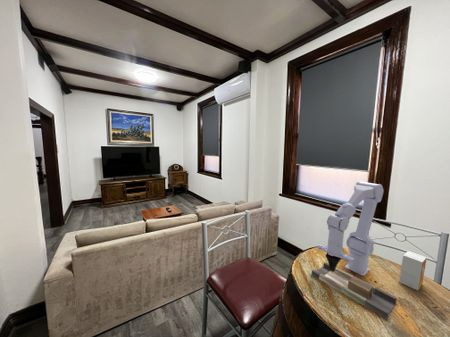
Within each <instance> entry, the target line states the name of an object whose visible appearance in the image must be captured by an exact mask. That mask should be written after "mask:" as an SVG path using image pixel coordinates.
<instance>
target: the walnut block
mask: <svg viewBox="0 0 450 337" xmlns="http://www.w3.org/2000/svg"><path fill="white" fill-rule="evenodd" d="M355 277H356V276H355ZM355 277H352V278H351V279H350V280H349V281H348V289H350V290H351V291H353V292H355V293H357V294H359V295H360V296H362V297H364V298H366V299H368V300H369V299H370V297H371V296H372V292H373V286H374V285H373V286H372V284H371V285H370V283H369V284H368V282H367V283H365V282H366V281H365V282H363V281H364V280H363V281H361V280H362V279H361V280H359V279H360V278H359V279H357V278H358V277H357V278H355Z"/></svg>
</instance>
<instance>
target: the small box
mask: <svg viewBox="0 0 450 337" xmlns="http://www.w3.org/2000/svg"><path fill="white" fill-rule="evenodd" d="M401 261H402V262H401V268H400V274H399V280H398V282H399V283H401V284H402V285H405V286H407V287H409V288H412V289H413V290H416V291H419V290H420V288H422V285H423V281H424V276H425V270H426V265H427V264H426V263H427V257H426V256H423V255H420V254H417V253H415V252H412V251H410V250H408V251H407V252H405V253H404V254H403V256H402V260H401Z"/></svg>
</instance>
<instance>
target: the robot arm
mask: <svg viewBox="0 0 450 337" xmlns="http://www.w3.org/2000/svg"><path fill="white" fill-rule="evenodd" d="M353 191H354V192H353V193H352V195H351V197H350V198H349V199H348V201H347V203H342V205H341V206H339V208H338V209H337V210H336V212H334V214H331V215H329V216H328V218H327V220H326V225H327V230H328V236H327V237H328V239H327V245H325V244H321V243H319V244H317V246H316V249H317V250H321V251H323V252H325V253H326V254H325V258H326V259H327V263H328V264H329V267H330V271H332V272H334V271H335V268H337V266H338V264H339V262H340V261H341V260H344V261H345V262H348V264H346V265H345V266H344V268H345V269H348V270H350V271H353V272H354V273H356V274H358V275H360V276H365V275H366V274H367V273H369V271H370V270H371V269H370V268H368V266H369V265H368V264H369V258H370V257H371V255H372V254H373V253H374V246H375V244H374V242H375V241H374V240H373V239H372V238H371V237H370V230H371V227H372V222H373V220H374V216H375V212H376V208H377V205H378V203H381V201H382V200H383V196H384V191H385V190H384V187H383V185H382V184H381V183H378V184H377V183H372V182H366V181H361V180H359V181H357V182H356V183H355V185H354V186H353ZM362 201H363V204H362V207H361V211H360V215H359V218H358V223H357V225H356V226H357V227H356V230H355V231H352V232H350V233H349V235H348V237H347V239H346V247H347V248H348V250H349V255H348V254H346V253H344V252H343V247H344V246H343V245H344V238H345V231H346V230H347V229H348V227H349V224H350V221H351V218H352V217H353V216H354V215H355V213H356V208H357V206H358V205H360V204H361V203H362ZM369 256H370V257H369Z"/></svg>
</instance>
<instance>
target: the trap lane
mask: <svg viewBox="0 0 450 337" xmlns="http://www.w3.org/2000/svg"><path fill="white" fill-rule="evenodd" d="M311 276H312V277H314V278H315V279H318V280H319V281H321V282H323V283H325V284H326V285H327V286H330V287H332V289H335V291H336V290H337V291H338V292H340V293H341V294H344V295H345V296H347V297H348V298H350V299H352V300H354V301H355V302H357V303H359V304H360V305H362V306H364V307H365V308H366V309H367V308H368V309H369V310H370V311H372V312H374V313H376V314H377V315H379V316H381V317H383V318H384V319H386V320H388V318H389V316H390V315H391V313H392V311H393V309H394V307H395V306H396V304H397V299H398V298H397V296H395V295H393V294H391V293H389V292H387V291H384V290H383V289H382V288H378V287H377V286H375V285H372V284H370V283H368V282H366V281H365V280H363V279H360V278H359V277H357V276H355V275H352V274H351V273H348V272H346V271H344V270H342V269H341V268H338V267H336V268H335V271H334V272H332V271H330V267H329V263H328V262H327V261H324V262H323V266H322V267H320V268H318V269H317V270H315V269H312V270H311ZM352 277H355V278H357V279H359V280H361V281H363V282H365V283H368V284H370V285H372V286H373V292H372V296H371V297H370V299H369V300H368V299H366V298H364V297H362V296H360V295H359V294H357V293H355V292H353V291H351V290H350V289H348V281H349V280H350V279H351V278H352Z"/></svg>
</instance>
